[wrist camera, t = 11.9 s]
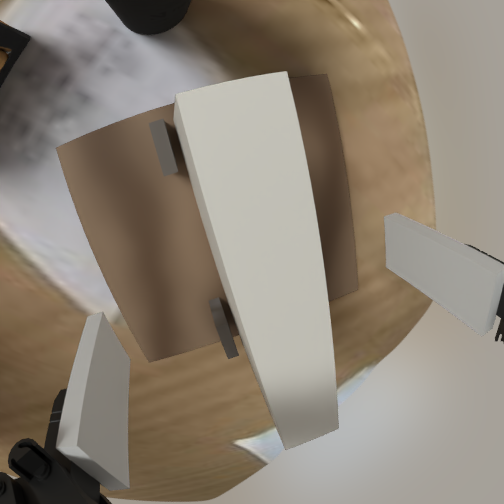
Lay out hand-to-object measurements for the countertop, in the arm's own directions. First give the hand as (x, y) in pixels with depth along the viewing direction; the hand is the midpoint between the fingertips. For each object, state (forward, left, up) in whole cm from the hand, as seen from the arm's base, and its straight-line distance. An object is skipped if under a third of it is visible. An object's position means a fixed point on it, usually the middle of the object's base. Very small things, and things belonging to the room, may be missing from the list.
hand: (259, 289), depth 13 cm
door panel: (0, 0, -9) cm, 9 cm away
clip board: (0, 0, -11) cm, 11 cm away
